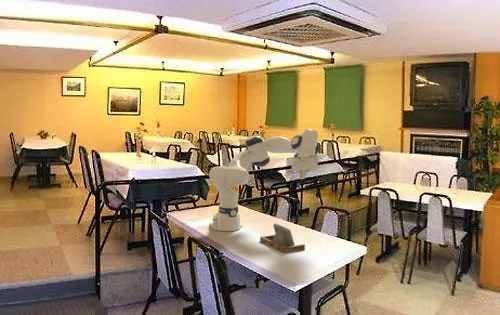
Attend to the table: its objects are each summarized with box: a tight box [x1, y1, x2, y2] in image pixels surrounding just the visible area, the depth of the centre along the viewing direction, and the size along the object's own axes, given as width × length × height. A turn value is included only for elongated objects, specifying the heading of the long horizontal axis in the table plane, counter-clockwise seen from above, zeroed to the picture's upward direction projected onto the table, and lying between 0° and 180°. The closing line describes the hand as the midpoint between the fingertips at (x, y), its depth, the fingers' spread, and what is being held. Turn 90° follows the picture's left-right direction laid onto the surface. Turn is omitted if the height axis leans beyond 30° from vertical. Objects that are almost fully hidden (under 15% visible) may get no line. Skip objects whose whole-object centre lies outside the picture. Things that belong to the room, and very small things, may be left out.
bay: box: [259, 234, 306, 254], centre depth 250 cm, size 24×13×2 cm, turn 31°
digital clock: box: [272, 223, 296, 247], centre depth 251 cm, size 16×9×11 cm, turn 15°
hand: (301, 178), depth 260 cm, fingers closed
